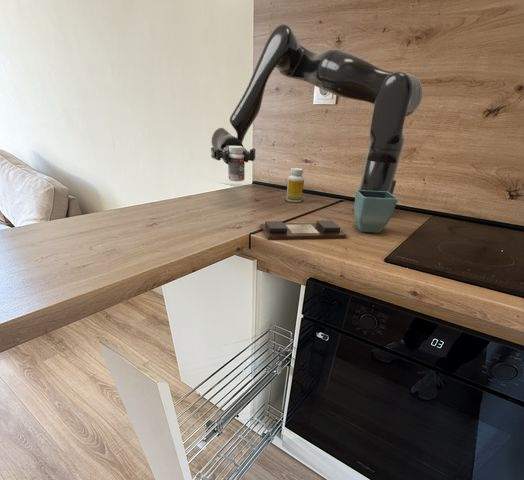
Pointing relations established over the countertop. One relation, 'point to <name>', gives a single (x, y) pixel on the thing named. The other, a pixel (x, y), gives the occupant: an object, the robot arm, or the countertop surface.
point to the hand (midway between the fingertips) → (237, 157)
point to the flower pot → (373, 209)
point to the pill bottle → (236, 164)
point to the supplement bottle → (295, 185)
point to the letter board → (301, 230)
